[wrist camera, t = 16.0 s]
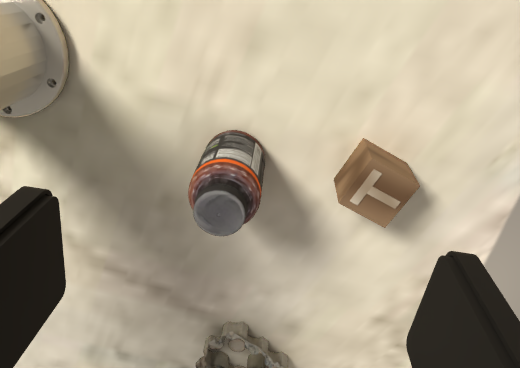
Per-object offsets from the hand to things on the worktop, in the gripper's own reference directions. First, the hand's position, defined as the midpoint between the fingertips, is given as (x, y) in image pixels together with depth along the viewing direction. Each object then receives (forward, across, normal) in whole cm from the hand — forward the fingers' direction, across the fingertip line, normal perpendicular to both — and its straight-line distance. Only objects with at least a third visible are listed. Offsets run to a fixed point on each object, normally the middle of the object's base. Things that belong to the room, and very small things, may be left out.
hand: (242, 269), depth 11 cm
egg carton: (+31, -2, +36) cm, 48 cm away
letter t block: (+30, -11, +10) cm, 34 cm away
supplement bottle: (+31, +3, +10) cm, 32 cm away
